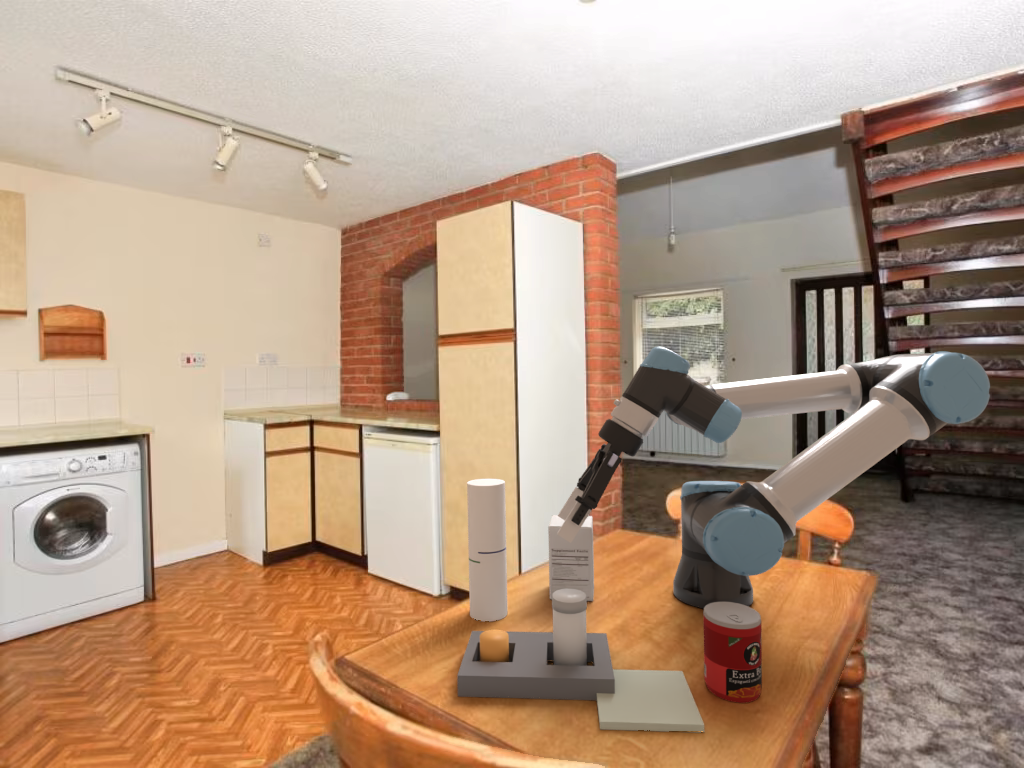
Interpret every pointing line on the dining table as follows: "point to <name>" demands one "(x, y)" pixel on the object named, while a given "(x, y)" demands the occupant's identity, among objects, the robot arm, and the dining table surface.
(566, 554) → the supplement box
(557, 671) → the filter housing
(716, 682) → the canned food
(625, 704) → the mat
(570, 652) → the cartridge
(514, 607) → the dining table surface
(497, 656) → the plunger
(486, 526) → the cylindrical container
